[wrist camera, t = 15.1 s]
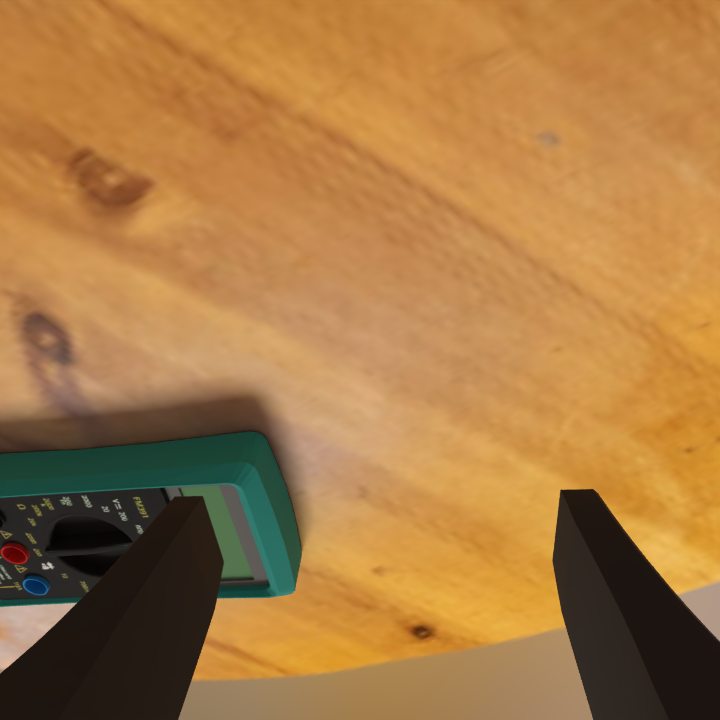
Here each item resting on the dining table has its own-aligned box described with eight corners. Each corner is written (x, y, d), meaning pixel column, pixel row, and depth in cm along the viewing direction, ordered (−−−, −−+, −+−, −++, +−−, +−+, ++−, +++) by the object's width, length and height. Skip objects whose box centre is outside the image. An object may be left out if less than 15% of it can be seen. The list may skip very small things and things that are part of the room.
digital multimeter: (-74, 447, 26) (-127, 499, 23) (271, 420, 24) (254, 474, 21) (8, 564, 30) (-30, 619, 27) (310, 550, 28) (299, 609, 25)
